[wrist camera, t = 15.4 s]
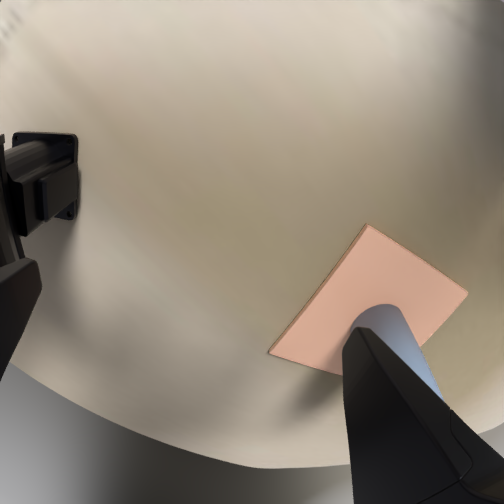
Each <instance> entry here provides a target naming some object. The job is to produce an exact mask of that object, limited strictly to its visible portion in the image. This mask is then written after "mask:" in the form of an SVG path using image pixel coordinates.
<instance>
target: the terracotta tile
mask: <svg viewBox="0 0 504 504" xmlns="http://www.w3.org/2000/svg"><path fill="white" fill-rule="evenodd" d="M468 294H469V293H468V292H467V291H466V290H465V289H464V288H462V287H461V286H460V285H458V284H457V283H455V282H454V281H453V280H451V279H450V278H448V277H447V276H446V275H444V274H443V273H441V272H440V271H438V270H437V269H436V268H434V267H433V266H431V265H430V264H428V263H427V262H425V261H424V260H422V259H421V258H420V257H418V256H417V255H415V254H414V253H412V252H411V251H409V250H407V249H406V248H404V247H403V246H401V245H400V244H398V243H397V242H395V241H394V240H392V239H390V238H389V237H387V236H386V235H384V234H383V233H381V232H379V231H378V230H376V229H375V228H373V227H371V226H370V225H368V224H365V226H364V227H363V228H362V230H361V231H360V233H359V234H358V236H357V237H356V238H355V240H354V241H353V243H352V244H351V245H350V247H349V248H348V250H347V251H346V252H345V254H344V255H343V256H342V258H341V259H340V260H339V262H338V263H337V265H336V266H335V267H334V269H333V270H332V271H331V273H330V274H329V275H328V277H327V278H326V279H325V280H324V282H323V283H322V284H321V286H320V287H319V288H318V290H317V291H316V292H315V294H314V295H313V296H312V297H311V299H310V300H309V301H308V302H307V304H306V305H305V306H304V308H303V309H302V310H301V311H300V313H299V314H298V315H297V316H296V318H295V319H294V320H293V321H292V322H291V324H290V325H289V326H288V327H287V329H286V330H285V331H284V332H283V333H282V335H281V336H280V337H279V338H278V339H277V341H276V342H275V343H274V344H273V345H272V347H271V348H270V349H269V353H270V354H272V355H276V356H279V357H282V358H285V359H288V360H291V361H294V362H297V363H301V364H304V365H307V366H310V367H314V368H317V369H320V370H324V371H327V372H331V373H334V374H338V375H342V376H343V373H342V349H343V346H344V344H345V343H346V341H347V339H348V338H349V336H350V329H351V326H352V324H353V322H354V320H355V319H356V318H357V317H358V316H359V315H360V314H361V313H362V312H364V311H365V310H367V309H368V308H370V307H373V306H376V305H380V304H392V305H395V306H396V307H398V308H399V309H400V310H401V312H402V314H403V316H404V318H405V320H406V322H407V323H408V325H409V327H410V329H411V331H412V333H413V335H414V337H415V339H416V341H417V343H418V345H419V347H421V346H422V345H423V344H424V343H425V342H426V341H427V339H428V338H429V337H430V336H431V335H432V334H433V333H434V332H435V331H436V330H437V329H438V328H439V327H440V326H441V325H442V324H443V323H444V322H445V320H446V319H447V318H448V317H449V316H450V315H451V314H452V313H453V312H454V310H455V309H456V308H457V307H458V306H459V305H460V303H461V302H462V301H463V300H464V299H465V298H466V296H467V295H468Z"/></svg>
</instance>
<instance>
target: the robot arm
mask: <svg viewBox="0 0 504 504" xmlns="http://www.w3.org/2000/svg"><path fill="white" fill-rule="evenodd" d="M17 137H18V139H17ZM70 139H71V140H72V144H70V142H69V140H70ZM3 143H5V138H4V134H1V135H0V381H1V378H2V376H3V374H4V371H5V369H6V367H7V365H8V363H9V361H10V359H11V357H12V354H13V352H14V350H15V348H16V346H17V344H18V342H19V340H20V338H21V336H22V334H23V332H24V330H25V327H26V325H27V322H28V320H29V318H30V315H31V313H32V311H33V308H34V306H35V304H36V302H37V299H38V297H39V295H40V293H41V290H42V282H41V277H40V272H39V267H38V264H37V262H36V261H35V260H32V259H29V258H25V255H24V251H23V248H22V244H21V240H20V236H24V237H27V236H28V235H29V234H30V233H31V232H33V231H34V230H35V229H36V228H37V227H39V226H40V225H41V224H42V223H43V222H48V221H49V220H50V219H51V218H53V217H56V218H60V219H65V220H73V219H74V218H75V217H76V216H77V197H78V165H77V146H78V138H77V136H76V135H75V134H69V133H51V132H16V133H14V134H13V137H12V148H10V149H8V150H6V151H4V144H3ZM69 211H70V212H71V214H72V215H70V213H69ZM342 373H343V401H344V410H345V418H346V426H347V434H348V443H349V453H350V463H351V474H352V485H353V497H354V498H353V499H354V504H504V458H503V457H502V456H501V455H499V454H498V453H497V452H496V451H495V450H494V449H493V448H492V447H490V446H489V445H488V444H487V443H486V442H485V441H484V440H483V439H481V438H480V437H479V436H478V435H477V434H476V433H475V432H474V431H473V430H472V429H471V428H470V427H469V426H468V425H467V424H466V423H465V422H464V421H463V420H462V419H461V418H460V417H459V416H458V415H457V414H456V413H455V412H454V411H453V410H452V409H450V407H449V406H448V405H447V404H446V403H445V402H444V401H443V400H442V399H441V398H440V397H439V396H438V395H437V394H436V393H435V392H434V391H433V390H432V389H431V388H430V387H429V386H428V385H427V384H426V383H425V382H424V381H423V380H422V379H421V378H420V377H419V376H418V375H417V374H416V373H415V372H414V371H413V370H412V369H411V368H410V367H409V366H408V365H407V364H406V363H405V362H404V361H403V360H402V359H401V358H400V357H399V356H398V355H397V354H396V353H395V352H394V351H393V350H392V349H391V348H390V347H389V346H388V345H387V344H386V343H385V342H384V341H383V340H382V339H381V338H380V337H379V336H378V335H377V334H376V333H374V332H373V331H372V330H371V329H370V328H368V327H360V326H357V327H355V328H354V329H353V331H352V332H351V334H350V336H349V338H348V339H347V341H346V343H345V344H344V346H343V349H342Z"/></svg>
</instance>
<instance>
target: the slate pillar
mask: <svg viewBox="0 0 504 504" xmlns="http://www.w3.org/2000/svg"><path fill="white" fill-rule="evenodd" d="M357 326H360V327H368V328H370V329H371V330H372V331H373V332H374V333H376V334H377V335H378V336H379V337H380V338H381V339H382V340H383V341H384V342H385V343H386V344H387V345H388V346H389V347H390V348H391V349H392V350H393V351H394V352H395V353H396V354H397V355H398V356H399V357H400V358H401V359H402V360H403V361H404V362H405V363H406V364H407V365H408V366H409V367H410V368H411V369H412V370H413V371H414V372H415V373H416V374H417V375H418V376H419V377H420V378H421V379H422V380H423V381H424V382H425V383H426V384H427V385H428V386H429V387H430V388H431V389H432V390H433V391H434V392H435V393H436V394H437V395H438V396H439V397H440V398H441V399H442V400H443V401H444V399H443V397H442V395H441V392H440V390H439V388H438V386H437V383H436V381H435V379H434V377H433V375H432V372H431V370H430V368H429V366H428V364H427V362H426V360H425V357H424V355H423V353H422V351H421V349H420V347H419V345H418V343H417V341H416V339H415V337H414V335H413V333H412V331H411V329H410V327H409V325H408V323H407V322H406V320H405V318H404V316H403V314H402V312H401V310H400V309H399V308H398V307H396V306H395V305H392V304H380V305H376V306H373V307H370V308H368V309H367V310H365V311H364V312H362V313H361V314H360V315H359V316H358V317H357V318H356V319H355V320H354V322H353V324H352V326H351V329H350V334H351V332H352V331H353V329H354V328H355V327H357Z"/></svg>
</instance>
